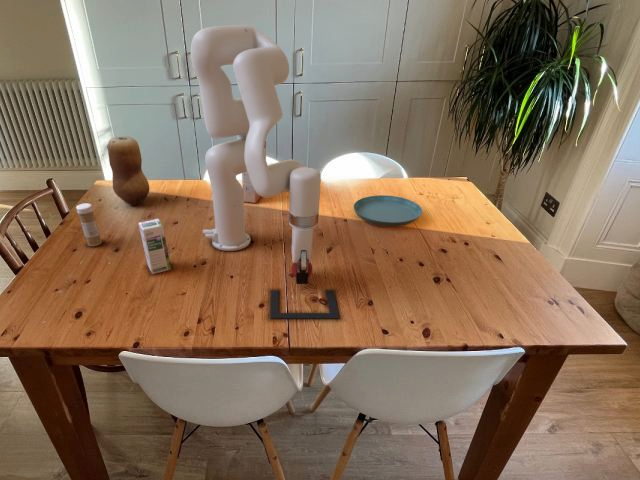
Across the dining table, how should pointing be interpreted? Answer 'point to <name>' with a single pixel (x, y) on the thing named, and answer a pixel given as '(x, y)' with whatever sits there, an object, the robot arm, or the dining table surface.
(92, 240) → the sprinkles bottle
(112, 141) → the butternut squash
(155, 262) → the syrup box
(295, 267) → the onion
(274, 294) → the bay
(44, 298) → the dining table surface
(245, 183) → the cracker box
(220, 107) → the robot arm
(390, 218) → the saucer
